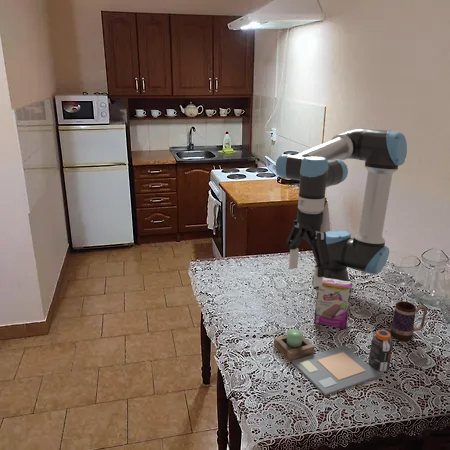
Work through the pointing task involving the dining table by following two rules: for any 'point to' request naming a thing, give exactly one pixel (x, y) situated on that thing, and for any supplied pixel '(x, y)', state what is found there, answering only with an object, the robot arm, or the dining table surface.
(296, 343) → the button
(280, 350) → the button box
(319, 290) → the candy bar box
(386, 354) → the pill bottle
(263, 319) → the dining table surface
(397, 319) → the mug
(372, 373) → the picture board
